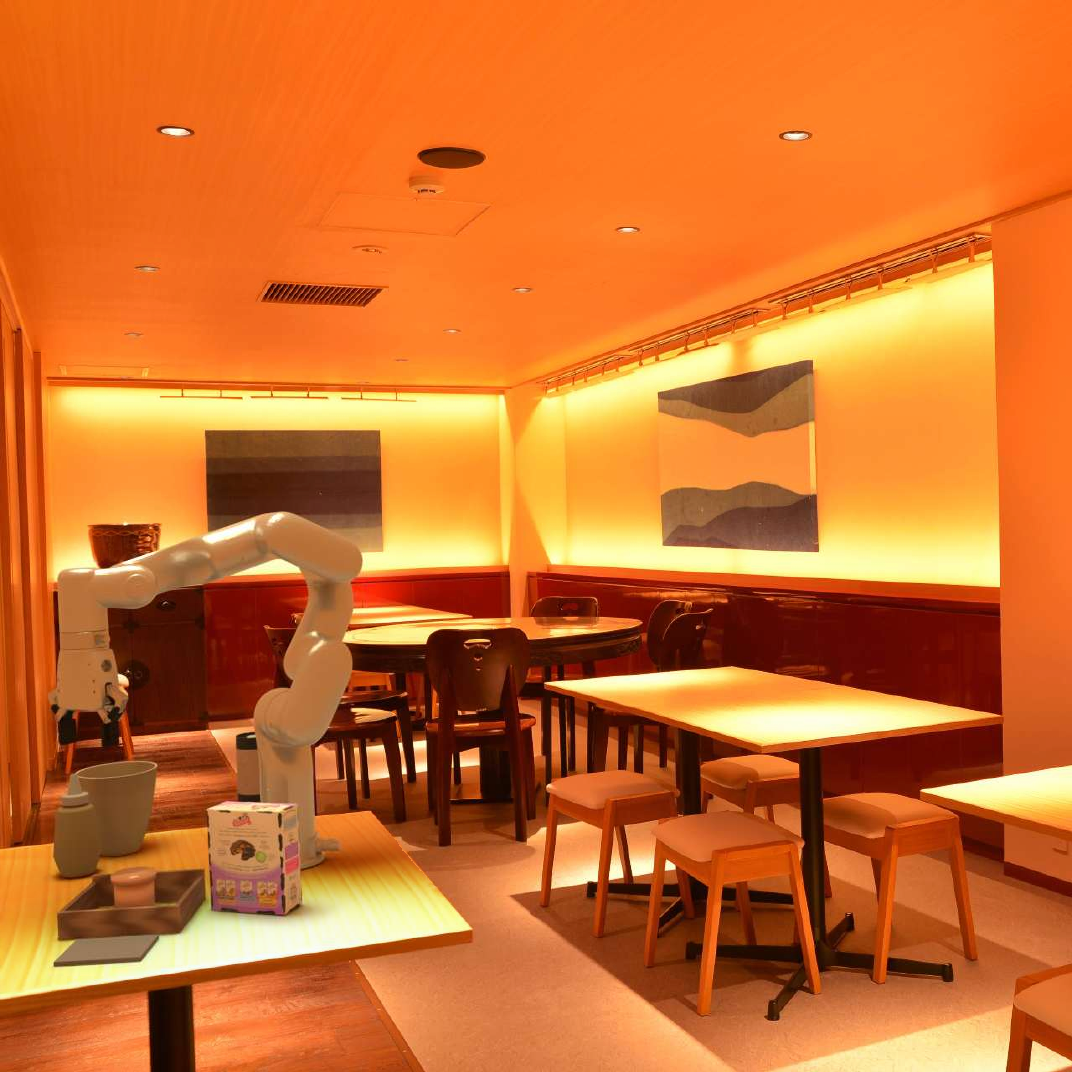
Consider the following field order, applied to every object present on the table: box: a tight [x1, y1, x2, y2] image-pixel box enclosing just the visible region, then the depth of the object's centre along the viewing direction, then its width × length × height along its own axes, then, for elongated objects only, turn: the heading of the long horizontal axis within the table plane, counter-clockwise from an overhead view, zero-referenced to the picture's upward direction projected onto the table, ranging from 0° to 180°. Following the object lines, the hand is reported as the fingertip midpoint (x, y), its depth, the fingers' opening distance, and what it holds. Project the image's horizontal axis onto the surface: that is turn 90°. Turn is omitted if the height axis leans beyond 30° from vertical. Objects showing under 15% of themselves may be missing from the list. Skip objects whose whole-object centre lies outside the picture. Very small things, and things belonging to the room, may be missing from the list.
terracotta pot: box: [110, 866, 157, 908], centre depth 177 cm, size 7×7×7 cm
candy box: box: [205, 800, 303, 916], centre depth 179 cm, size 14×6×16 cm, turn 71°
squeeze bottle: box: [52, 773, 101, 879], centre depth 203 cm, size 8×8×18 cm
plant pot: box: [75, 760, 158, 857], centre depth 217 cm, size 15×15×16 cm
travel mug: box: [235, 731, 261, 803], centre depth 226 cm, size 8×8×20 cm
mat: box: [53, 934, 160, 967], centre depth 162 cm, size 12×9×1 cm
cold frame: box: [56, 868, 207, 941], centre depth 177 cm, size 18×16×5 cm
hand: (89, 745), depth 186 cm, fingers open, 9 cm apart
